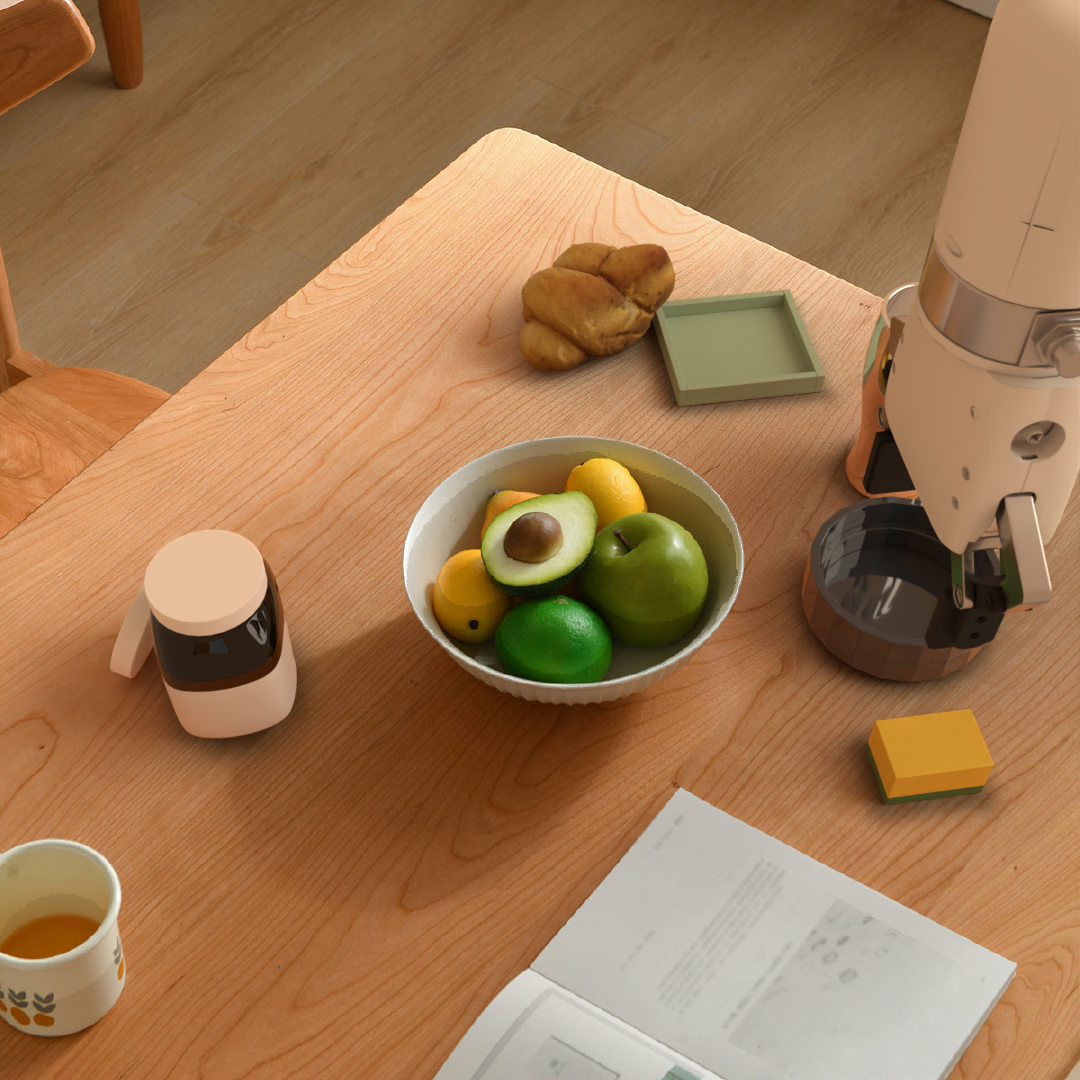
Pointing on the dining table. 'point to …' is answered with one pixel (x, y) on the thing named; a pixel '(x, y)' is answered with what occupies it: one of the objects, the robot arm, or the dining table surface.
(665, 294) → the bread roll
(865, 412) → the beer glass
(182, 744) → the dining table surface
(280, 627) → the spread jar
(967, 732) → the sponge
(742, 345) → the sponge tray
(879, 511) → the bowl
